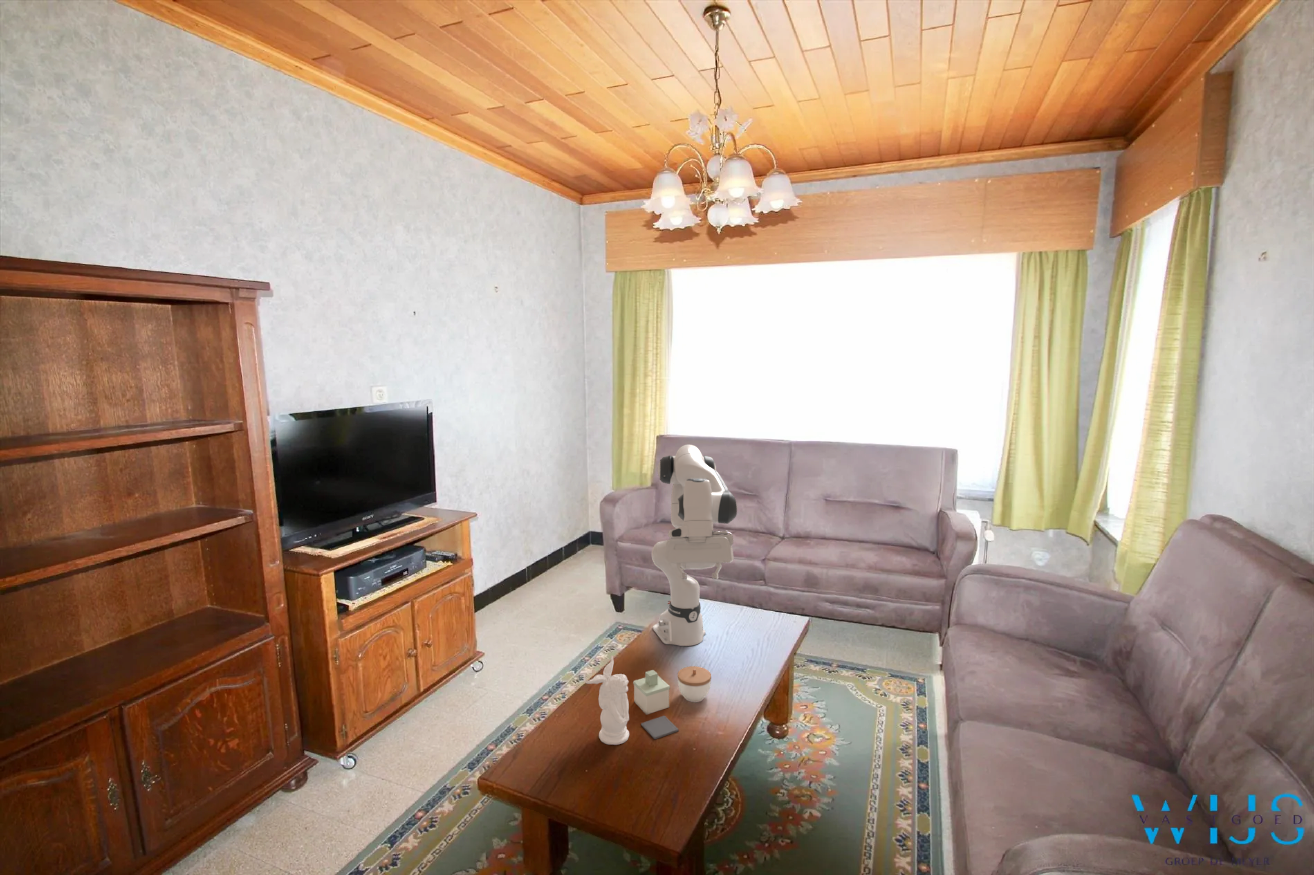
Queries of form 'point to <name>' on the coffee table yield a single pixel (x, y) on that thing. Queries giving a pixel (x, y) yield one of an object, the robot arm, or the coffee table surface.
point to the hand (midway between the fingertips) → (699, 579)
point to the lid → (651, 684)
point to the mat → (659, 727)
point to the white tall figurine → (613, 705)
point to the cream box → (651, 701)
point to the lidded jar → (694, 683)
